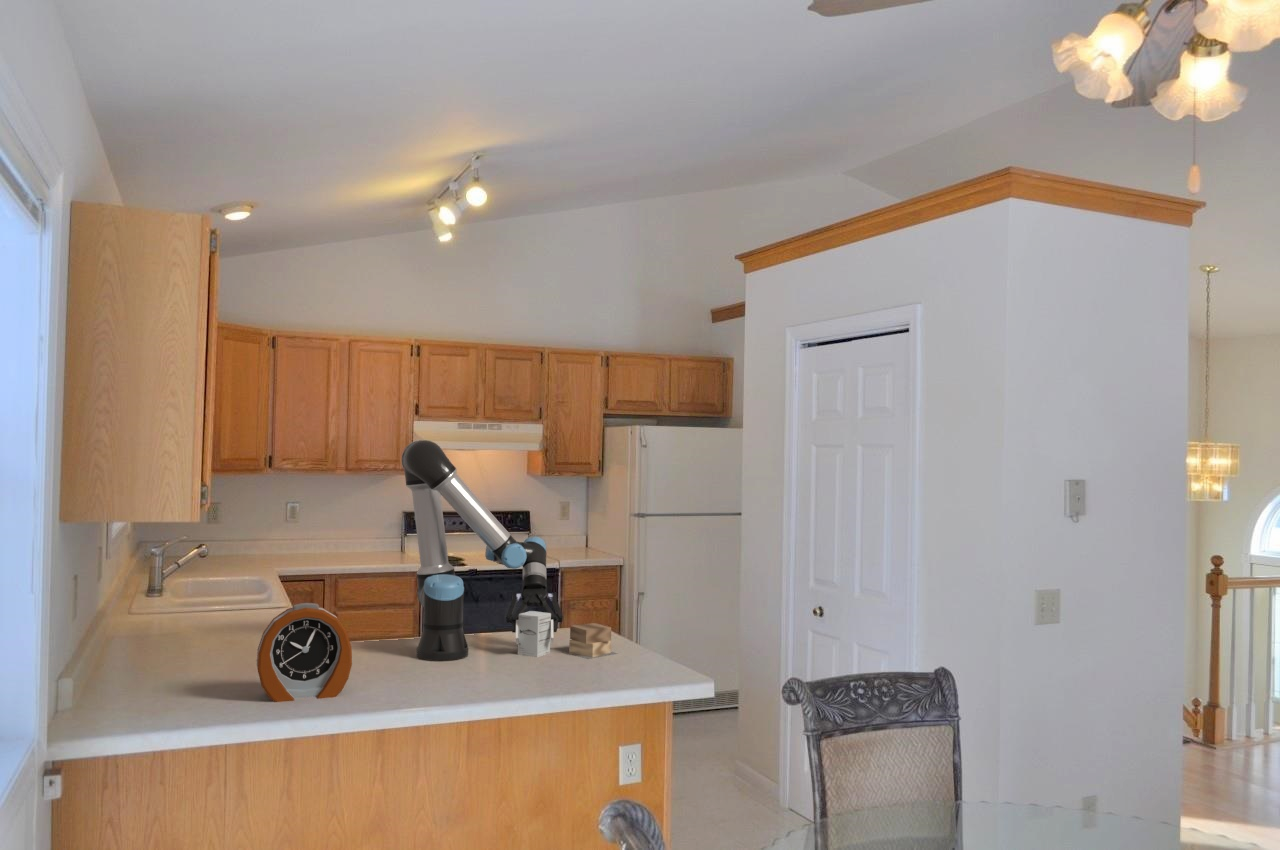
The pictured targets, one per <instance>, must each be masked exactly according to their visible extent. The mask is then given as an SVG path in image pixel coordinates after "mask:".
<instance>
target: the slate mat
mask: <svg viewBox="0 0 1280 850" xmlns="http://www.w3.org/2000/svg"><path fill="white" fill-rule="evenodd" d="M562 653H563V654H566V655H571V656H575V657H579V658H582V659H587V660H590V659H591V660H593V659H597V658H603V657H607V656H613V655H618V654H619V653H618V652H614V651H611V653H608V654H604V655H600V656H596V657H587V656H581V655H576V654H570V653H569V651H563V652H562Z"/></svg>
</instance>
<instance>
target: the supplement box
mask: <svg viewBox="0 0 1280 850" xmlns="http://www.w3.org/2000/svg"><path fill="white" fill-rule="evenodd" d="M550 653H551V613H545V611H544V612H542V611H537V610H536V611H535V610H529V611H526V612H525V611H524V613H521V614H519V620H518V643H517V656H524V657H525V656H526V657H532V658H539V657H542V656H545V655H548V654H550Z"/></svg>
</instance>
